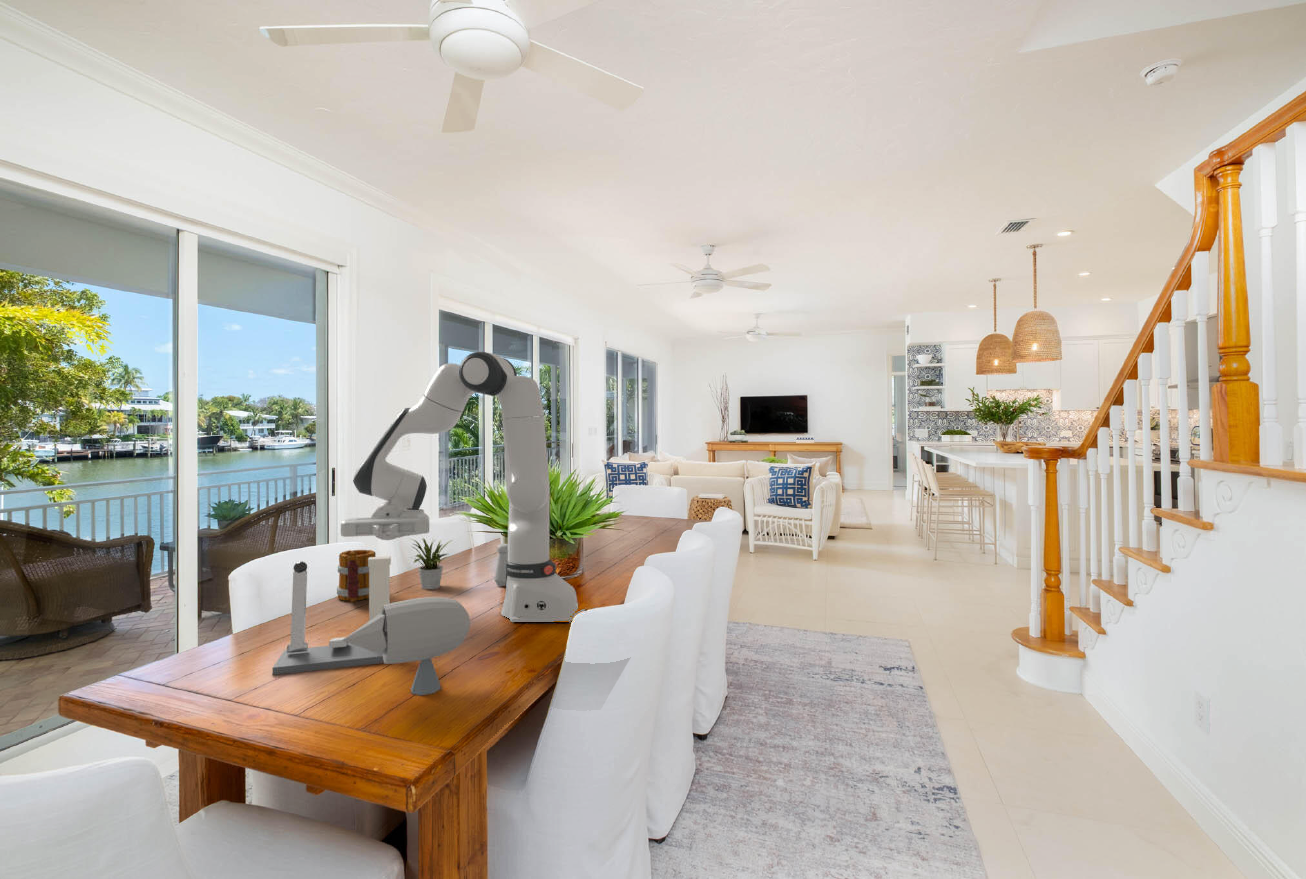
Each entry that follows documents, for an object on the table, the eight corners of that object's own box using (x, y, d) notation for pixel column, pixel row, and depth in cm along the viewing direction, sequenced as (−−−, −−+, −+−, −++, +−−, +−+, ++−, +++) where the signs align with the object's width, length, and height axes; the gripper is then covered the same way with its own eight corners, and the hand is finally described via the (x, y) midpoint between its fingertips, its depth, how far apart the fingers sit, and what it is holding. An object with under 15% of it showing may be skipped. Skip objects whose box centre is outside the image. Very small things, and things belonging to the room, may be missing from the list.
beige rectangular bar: (369, 642, 134) (369, 557, 133) (390, 640, 135) (390, 556, 135) (367, 646, 132) (368, 559, 131) (389, 644, 133) (389, 558, 133)
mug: (379, 589, 183) (379, 540, 183) (373, 605, 168) (373, 551, 167) (340, 592, 180) (340, 542, 179) (329, 608, 164) (329, 553, 164)
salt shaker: (508, 588, 187) (508, 546, 186) (490, 587, 188) (491, 545, 187) (515, 583, 192) (516, 543, 192) (499, 582, 193) (499, 542, 193)
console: (284, 656, 130) (284, 649, 130) (395, 645, 137) (395, 639, 137) (272, 674, 121) (272, 667, 121) (391, 661, 128) (391, 654, 128)
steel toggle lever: (289, 651, 129) (292, 561, 131) (308, 650, 130) (311, 560, 132) (286, 654, 126) (289, 562, 129) (305, 652, 127) (308, 561, 130)
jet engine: (376, 673, 122) (377, 588, 121) (475, 674, 122) (476, 589, 122) (339, 707, 107) (339, 610, 107) (451, 709, 107) (452, 611, 107)
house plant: (391, 592, 180) (391, 538, 180) (417, 580, 194) (417, 530, 194) (435, 595, 178) (435, 540, 178) (458, 583, 192) (458, 532, 191)
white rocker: (332, 644, 133) (332, 638, 133) (349, 643, 134) (349, 636, 134) (328, 648, 128) (328, 641, 128) (346, 646, 129) (346, 639, 129)
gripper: (344, 511, 153) (335, 519, 140) (429, 508, 160) (429, 516, 147) (344, 536, 153) (335, 546, 140) (429, 532, 160) (428, 542, 147)
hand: (384, 531), depth 143 cm, fingers closed
